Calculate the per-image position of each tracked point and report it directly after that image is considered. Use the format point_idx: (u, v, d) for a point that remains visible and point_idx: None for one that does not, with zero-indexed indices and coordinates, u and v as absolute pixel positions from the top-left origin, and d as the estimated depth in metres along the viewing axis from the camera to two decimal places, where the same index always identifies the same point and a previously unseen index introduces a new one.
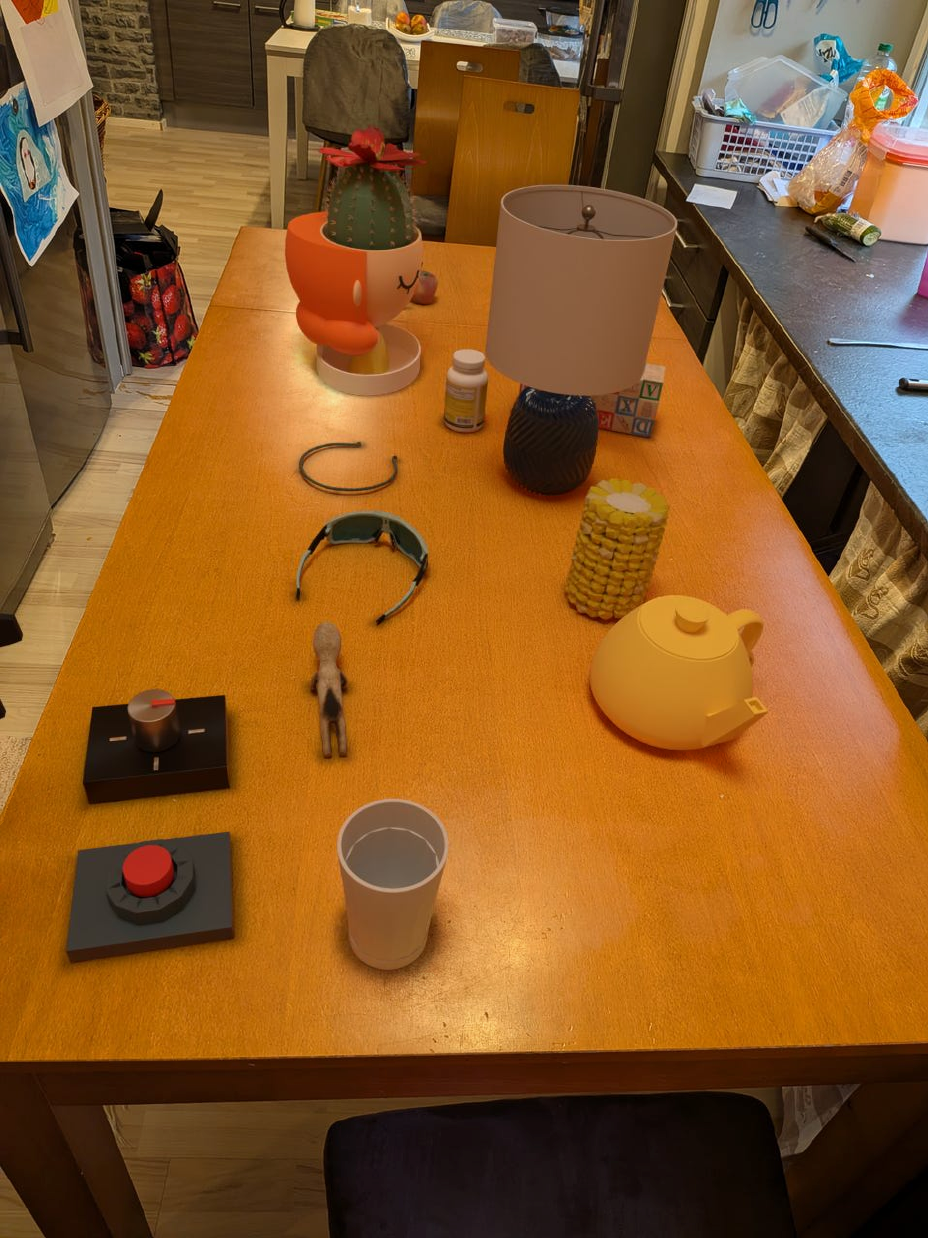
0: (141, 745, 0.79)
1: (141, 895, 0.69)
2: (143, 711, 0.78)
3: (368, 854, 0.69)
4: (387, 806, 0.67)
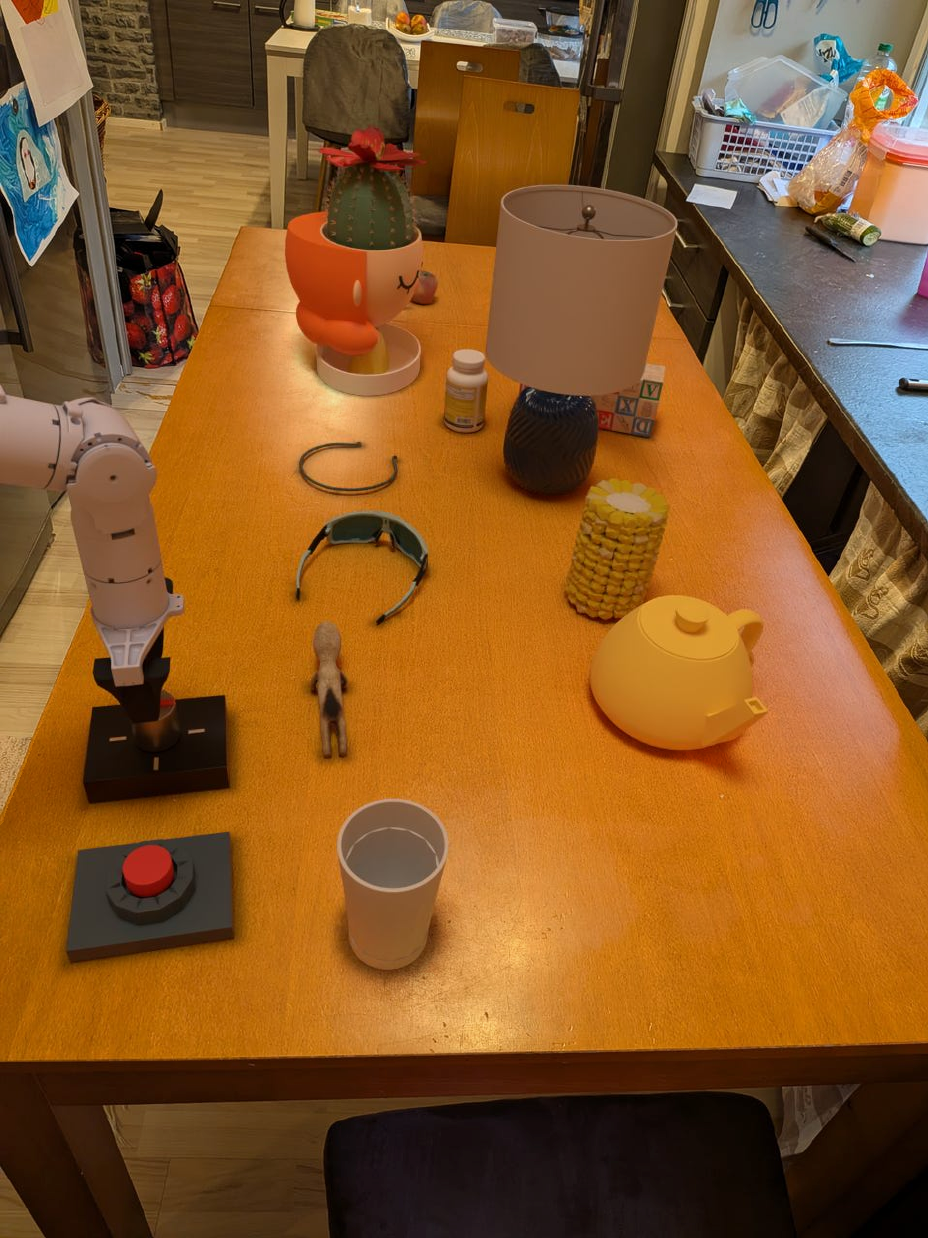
0: (141, 745, 0.79)
1: (141, 895, 0.69)
2: None
3: (368, 854, 0.69)
4: (387, 806, 0.67)
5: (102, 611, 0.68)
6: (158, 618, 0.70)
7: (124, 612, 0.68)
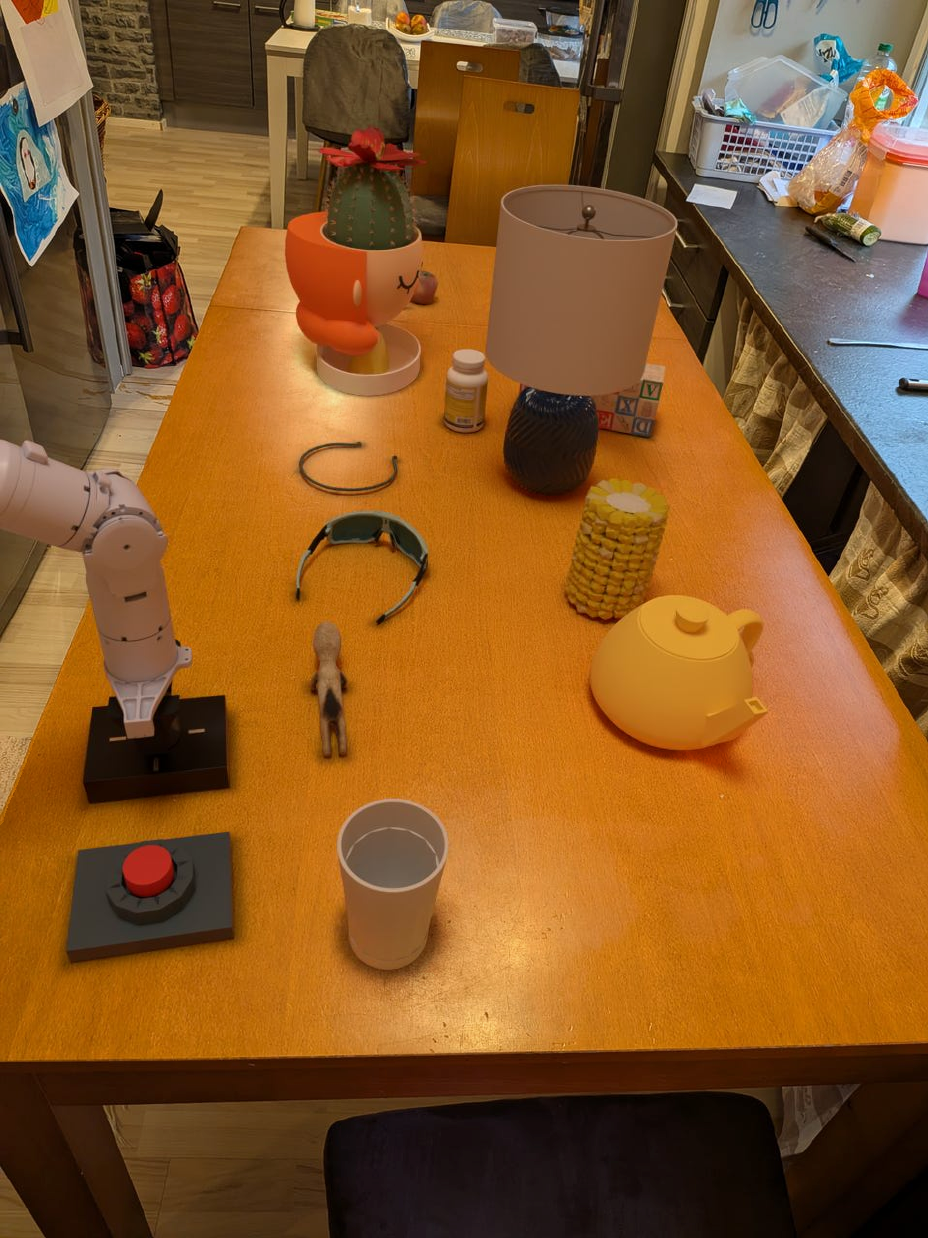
0: None
1: (141, 895, 0.69)
2: None
3: (368, 854, 0.69)
4: (387, 806, 0.67)
5: (115, 666, 0.72)
6: (168, 671, 0.74)
7: (136, 667, 0.72)
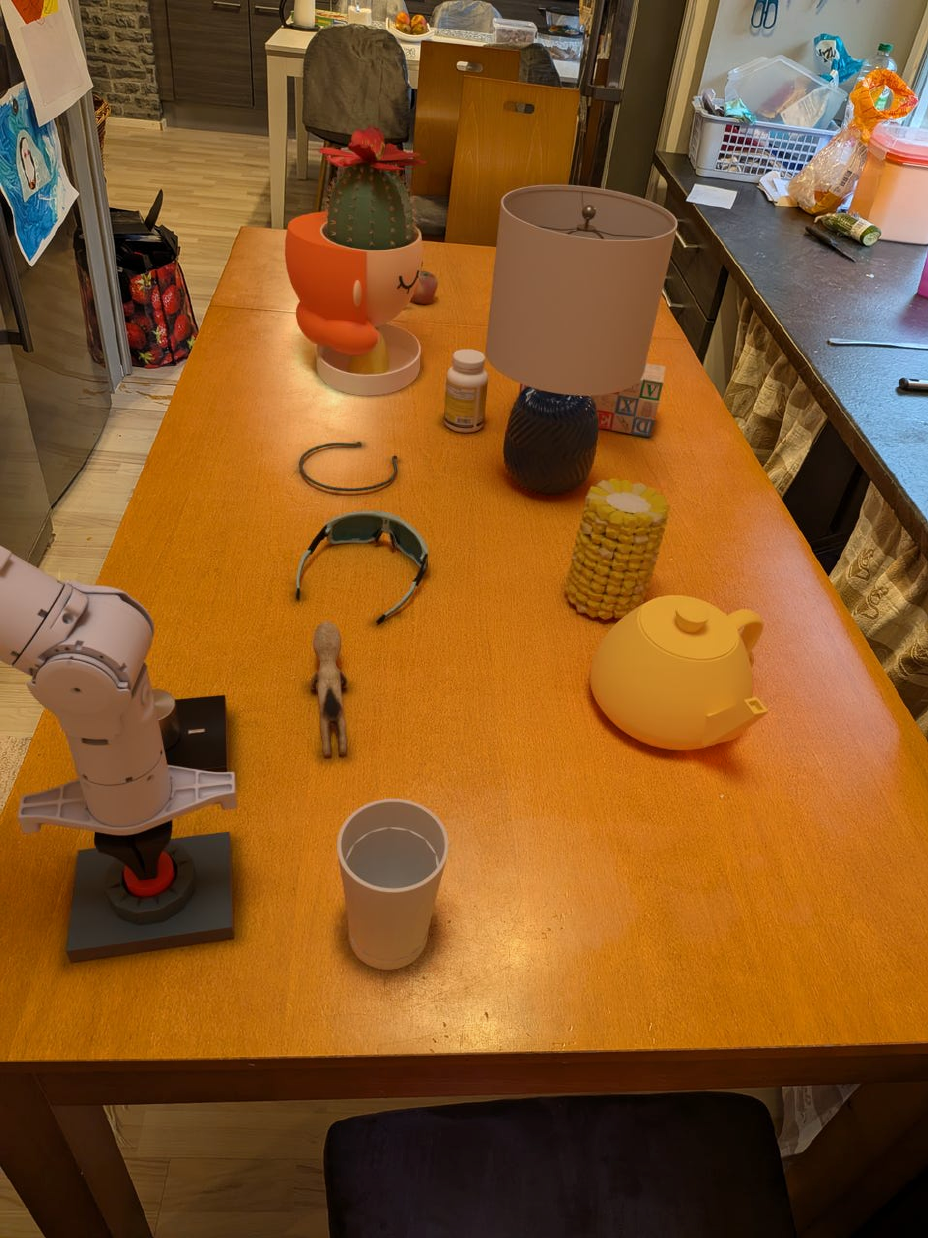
0: None
1: None
2: None
3: (368, 854, 0.69)
4: (387, 806, 0.67)
5: (159, 796, 0.62)
6: None
7: (168, 774, 0.63)
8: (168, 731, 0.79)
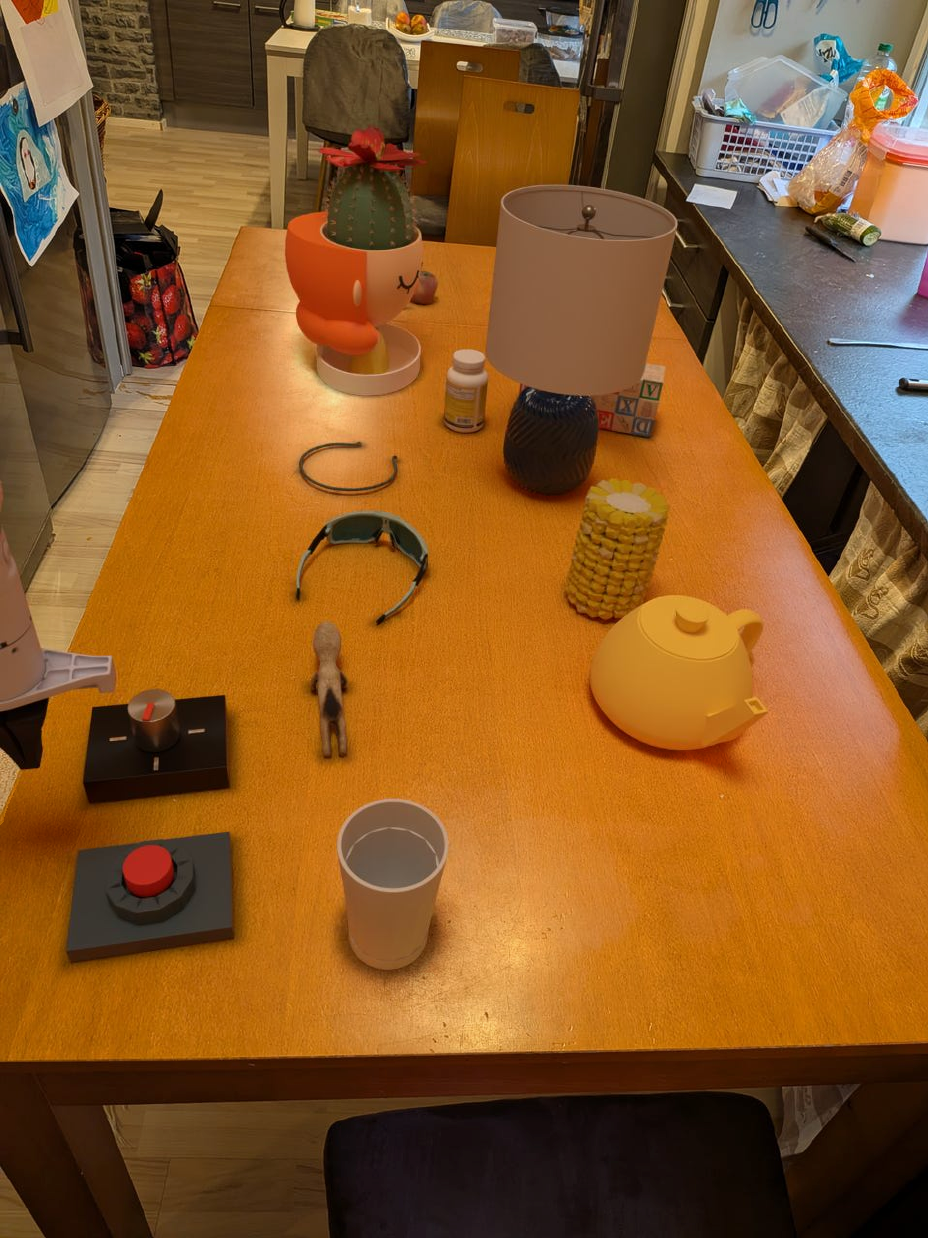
0: None
1: (141, 895, 0.69)
2: (145, 699, 0.79)
3: (368, 854, 0.69)
4: (387, 806, 0.67)
5: (28, 672, 0.61)
6: None
7: (40, 653, 0.62)
8: (168, 731, 0.79)
